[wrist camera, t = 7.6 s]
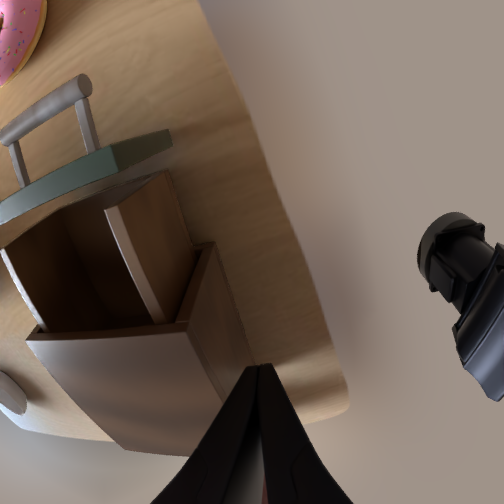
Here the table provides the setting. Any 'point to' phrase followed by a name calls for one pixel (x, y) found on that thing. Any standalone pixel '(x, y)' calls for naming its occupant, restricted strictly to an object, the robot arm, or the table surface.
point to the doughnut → (19, 34)
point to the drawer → (96, 230)
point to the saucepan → (12, 395)
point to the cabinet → (156, 367)
